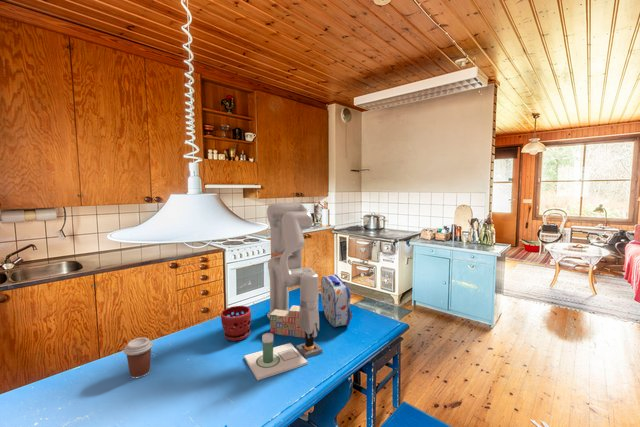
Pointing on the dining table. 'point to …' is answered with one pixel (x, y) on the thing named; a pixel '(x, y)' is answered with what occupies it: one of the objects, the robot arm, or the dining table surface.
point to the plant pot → (236, 322)
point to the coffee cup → (138, 356)
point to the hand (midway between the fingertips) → (309, 345)
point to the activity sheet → (275, 361)
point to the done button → (308, 348)
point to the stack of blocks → (286, 322)
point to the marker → (267, 347)
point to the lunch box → (336, 300)
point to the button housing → (309, 353)
